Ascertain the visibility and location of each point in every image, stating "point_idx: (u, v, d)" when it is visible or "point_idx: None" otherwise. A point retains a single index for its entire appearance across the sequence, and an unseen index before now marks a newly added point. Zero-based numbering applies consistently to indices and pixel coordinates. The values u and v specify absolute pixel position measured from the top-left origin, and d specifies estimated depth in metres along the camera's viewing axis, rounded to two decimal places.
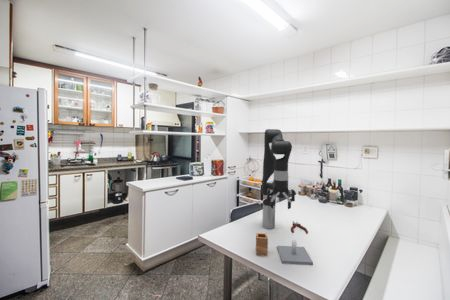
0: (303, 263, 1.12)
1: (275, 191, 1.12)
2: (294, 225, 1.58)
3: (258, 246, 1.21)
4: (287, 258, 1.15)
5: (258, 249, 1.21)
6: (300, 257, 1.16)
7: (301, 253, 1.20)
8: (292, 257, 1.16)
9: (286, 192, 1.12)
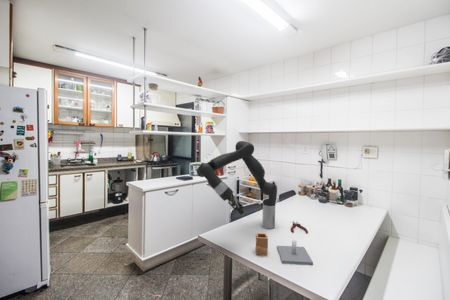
0: (303, 263, 1.12)
1: None
2: (294, 225, 1.58)
3: (258, 246, 1.21)
4: (287, 258, 1.15)
5: (258, 249, 1.21)
6: (300, 257, 1.16)
7: (301, 253, 1.20)
8: (292, 257, 1.16)
9: None
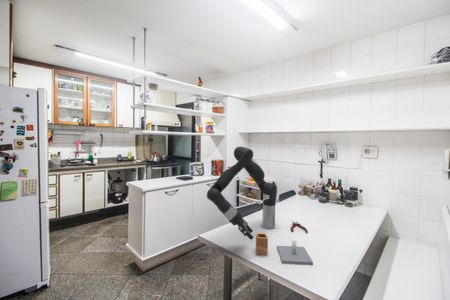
0: (303, 263, 1.12)
1: None
2: (294, 225, 1.59)
3: (258, 246, 1.21)
4: (287, 258, 1.15)
5: (258, 249, 1.21)
6: (300, 257, 1.16)
7: (301, 253, 1.20)
8: (292, 257, 1.16)
9: None
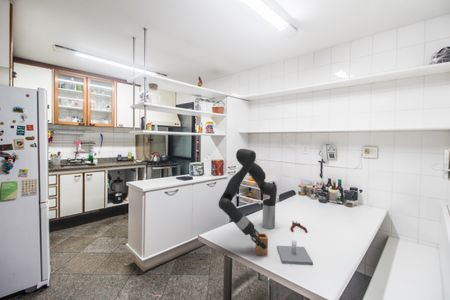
0: (303, 263, 1.12)
1: None
2: (294, 224, 1.60)
3: (258, 246, 1.21)
4: (287, 258, 1.15)
5: (258, 249, 1.21)
6: (300, 257, 1.16)
7: (301, 253, 1.20)
8: (292, 257, 1.16)
9: None
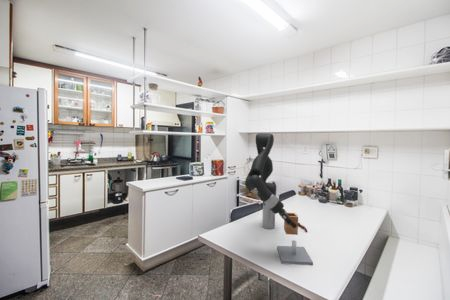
0: (303, 263, 1.12)
1: None
2: None
3: (288, 225, 1.17)
4: (287, 258, 1.15)
5: (288, 228, 1.17)
6: (300, 257, 1.16)
7: (301, 253, 1.20)
8: (292, 257, 1.16)
9: (281, 215, 1.17)
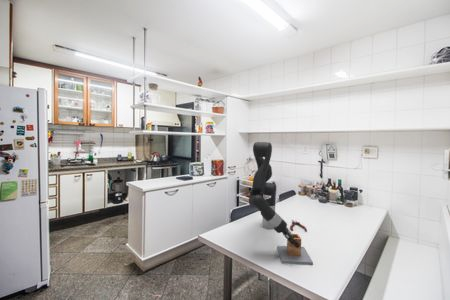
0: (303, 263, 1.12)
1: None
2: (293, 223, 1.61)
3: (291, 247, 1.17)
4: (287, 258, 1.15)
5: (291, 250, 1.17)
6: (300, 257, 1.16)
7: (301, 253, 1.20)
8: (292, 257, 1.16)
9: (285, 234, 1.17)
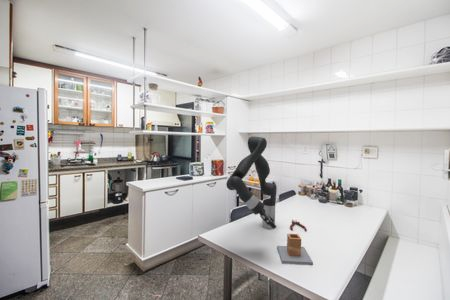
0: (303, 263, 1.12)
1: None
2: (293, 223, 1.62)
3: (291, 247, 1.17)
4: (287, 258, 1.15)
5: (291, 250, 1.17)
6: (300, 257, 1.16)
7: (301, 253, 1.20)
8: (292, 257, 1.16)
9: None
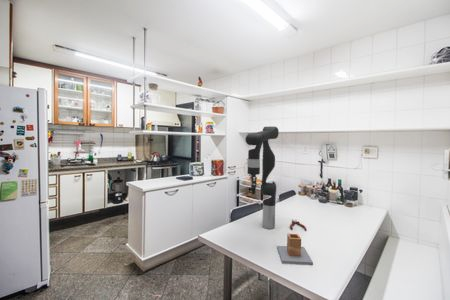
0: (303, 263, 1.12)
1: (251, 176, 1.34)
2: (293, 223, 1.63)
3: (291, 247, 1.17)
4: (287, 258, 1.15)
5: (291, 250, 1.17)
6: (300, 257, 1.16)
7: (301, 253, 1.20)
8: (292, 257, 1.16)
9: (251, 178, 1.28)
